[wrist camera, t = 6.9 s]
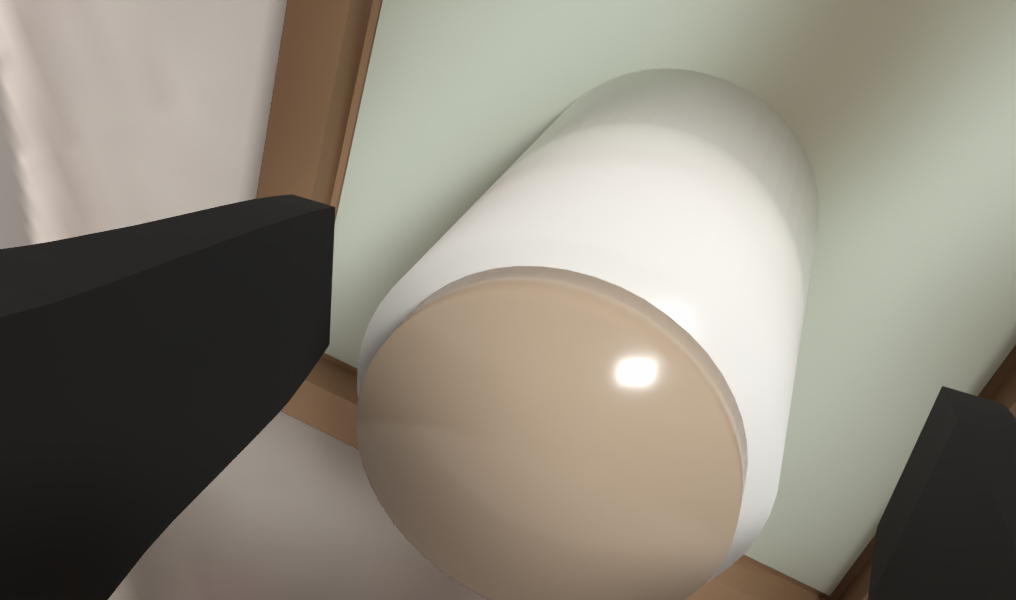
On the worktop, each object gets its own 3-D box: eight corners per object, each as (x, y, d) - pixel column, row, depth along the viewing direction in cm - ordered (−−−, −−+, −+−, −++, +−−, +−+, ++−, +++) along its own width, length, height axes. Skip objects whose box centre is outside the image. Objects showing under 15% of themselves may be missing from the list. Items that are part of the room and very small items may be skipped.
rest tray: (1421, -46, 11) (1476, -29, 10) (862, 646, 18) (860, 697, 17) (396, -401, 12) (353, -418, 11) (261, 353, 19) (227, 383, 18)
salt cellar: (864, 115, 13) (849, 362, 7) (764, 372, 15) (697, 706, 10) (560, 34, 14) (345, 200, 8) (510, 288, 16) (317, 550, 11)
